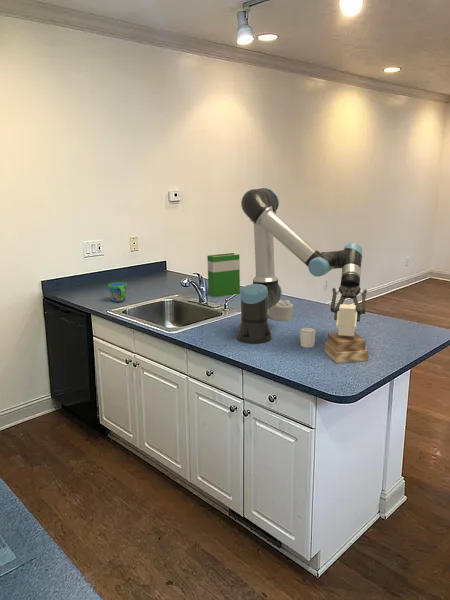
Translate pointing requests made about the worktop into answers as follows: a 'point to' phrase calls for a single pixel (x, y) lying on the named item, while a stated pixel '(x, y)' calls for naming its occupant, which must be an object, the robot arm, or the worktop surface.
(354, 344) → the block tower
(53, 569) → the worktop surface
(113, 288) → the snack cup
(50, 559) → the worktop surface
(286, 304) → the lumpy-topped squat cylinder
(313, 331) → the shot glass
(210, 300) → the worktop surface
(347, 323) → the cream brick
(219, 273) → the hardback book
